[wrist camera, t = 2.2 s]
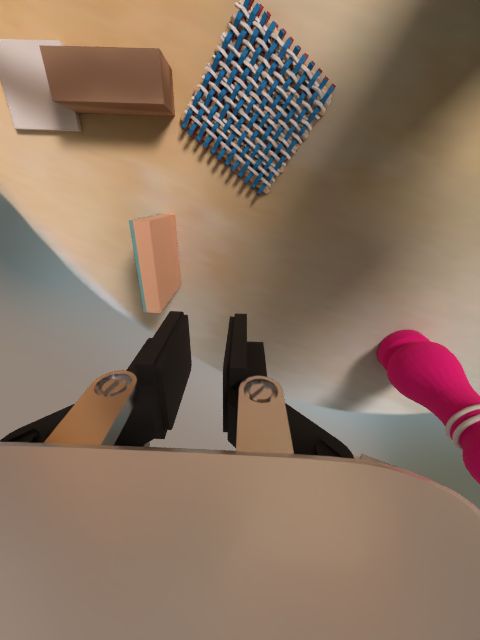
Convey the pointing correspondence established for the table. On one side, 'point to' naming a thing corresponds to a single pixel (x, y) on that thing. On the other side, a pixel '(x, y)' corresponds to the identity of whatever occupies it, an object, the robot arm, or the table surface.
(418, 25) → the table surface
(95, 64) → the turner
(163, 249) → the tile
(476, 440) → the pepper mill
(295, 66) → the woven mat
